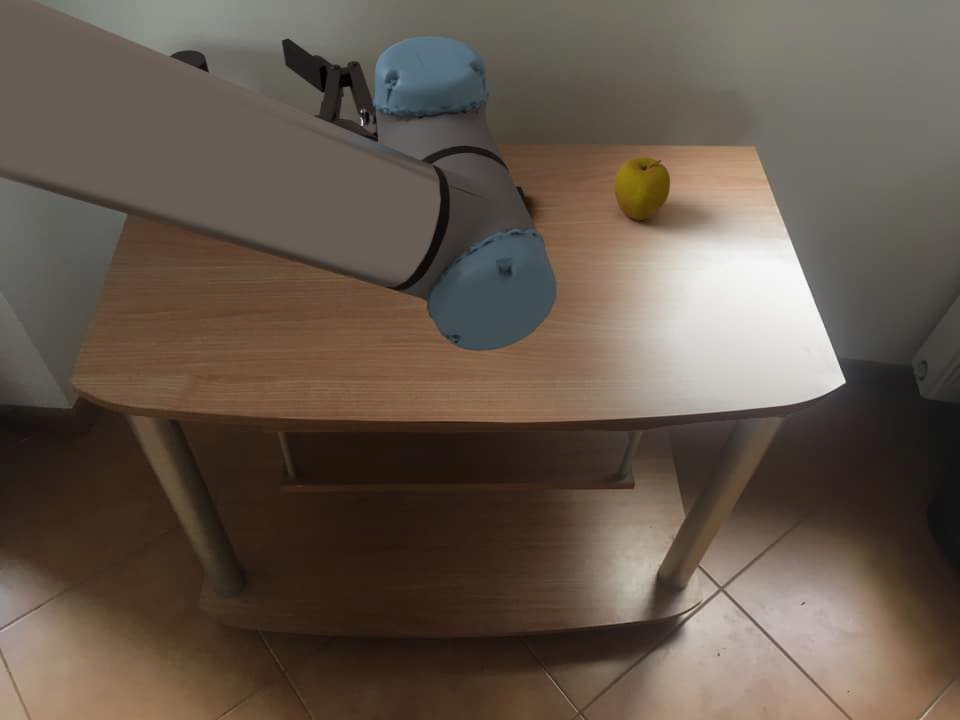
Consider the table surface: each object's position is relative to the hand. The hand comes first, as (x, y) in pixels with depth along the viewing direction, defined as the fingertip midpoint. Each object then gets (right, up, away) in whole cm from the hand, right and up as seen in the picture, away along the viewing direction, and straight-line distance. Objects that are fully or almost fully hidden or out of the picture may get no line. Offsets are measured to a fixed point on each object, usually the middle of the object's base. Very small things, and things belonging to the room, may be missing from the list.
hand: (227, 73), depth 77 cm
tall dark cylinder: (-7, -6, +19) cm, 21 cm away
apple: (+44, -10, +20) cm, 49 cm away
